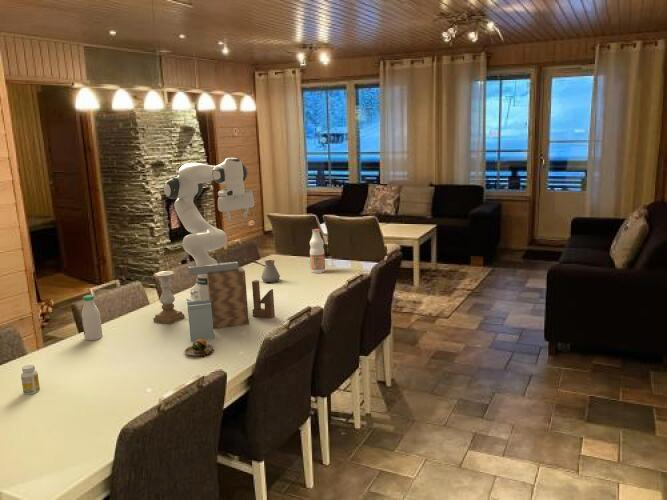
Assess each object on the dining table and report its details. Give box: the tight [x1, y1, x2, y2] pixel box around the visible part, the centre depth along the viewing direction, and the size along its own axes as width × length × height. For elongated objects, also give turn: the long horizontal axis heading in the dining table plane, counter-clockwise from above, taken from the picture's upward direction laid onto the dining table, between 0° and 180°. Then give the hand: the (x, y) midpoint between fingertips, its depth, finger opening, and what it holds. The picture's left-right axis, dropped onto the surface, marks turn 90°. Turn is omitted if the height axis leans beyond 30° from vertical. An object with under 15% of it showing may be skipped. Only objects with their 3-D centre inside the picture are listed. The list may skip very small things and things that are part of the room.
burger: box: [184, 339, 215, 358], centre depth 236 cm, size 12×12×8 cm
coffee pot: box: [244, 257, 281, 283], centre depth 349 cm, size 21×12×15 cm, turn 81°
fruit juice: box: [309, 228, 326, 274], centre depth 366 cm, size 9×9×28 cm
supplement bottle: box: [20, 364, 41, 396], centre depth 205 cm, size 5×5×10 cm
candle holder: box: [152, 270, 186, 325], centre depth 280 cm, size 11×11×24 cm
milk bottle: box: [81, 294, 103, 341], centre depth 258 cm, size 8×8×20 cm
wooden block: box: [251, 279, 276, 319], centre depth 279 cm, size 4×11×18 cm, turn 67°
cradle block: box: [186, 299, 215, 342], centre depth 254 cm, size 10×8×16 cm
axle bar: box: [187, 261, 240, 276], centre depth 265 cm, size 23×4×4 cm, turn 106°
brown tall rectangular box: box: [207, 266, 250, 330], centre depth 270 cm, size 17×10×26 cm, turn 106°
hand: (237, 218), depth 282 cm, fingers open, 8 cm apart
